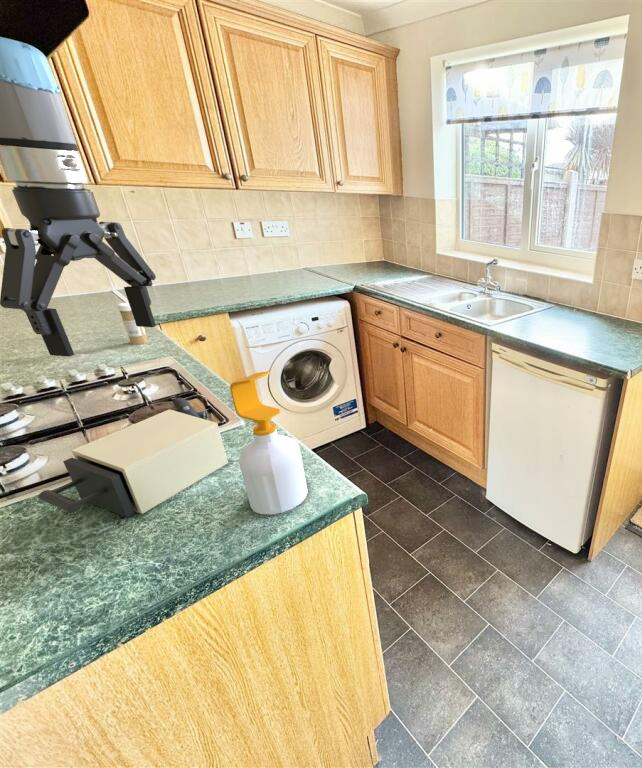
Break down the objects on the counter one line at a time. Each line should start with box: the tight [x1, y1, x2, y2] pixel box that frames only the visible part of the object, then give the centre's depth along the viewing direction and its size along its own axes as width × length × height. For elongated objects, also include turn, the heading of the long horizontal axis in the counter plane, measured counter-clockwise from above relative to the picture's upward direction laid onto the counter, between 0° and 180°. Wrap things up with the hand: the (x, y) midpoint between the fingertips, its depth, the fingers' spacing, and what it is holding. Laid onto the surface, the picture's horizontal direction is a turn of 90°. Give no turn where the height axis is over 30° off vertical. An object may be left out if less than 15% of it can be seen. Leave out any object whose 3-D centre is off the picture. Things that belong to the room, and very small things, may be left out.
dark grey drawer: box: [38, 457, 136, 518], centre depth 72 cm, size 20×11×8 cm, turn 161°
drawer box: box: [71, 409, 229, 515], centre depth 76 cm, size 16×13×10 cm
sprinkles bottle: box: [116, 302, 149, 346], centre depth 133 cm, size 5×5×13 cm
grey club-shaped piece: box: [173, 397, 210, 420], centre depth 94 cm, size 18×7×6 cm, turn 43°
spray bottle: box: [229, 370, 308, 516], centre depth 70 cm, size 9×9×25 cm
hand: (108, 339), depth 64 cm, fingers open, 13 cm apart
